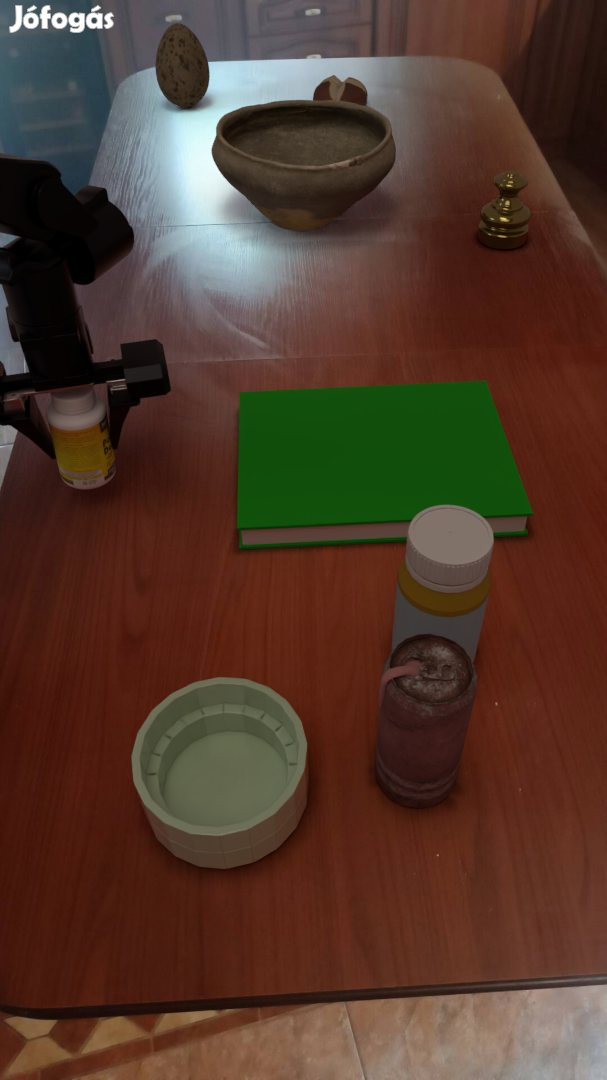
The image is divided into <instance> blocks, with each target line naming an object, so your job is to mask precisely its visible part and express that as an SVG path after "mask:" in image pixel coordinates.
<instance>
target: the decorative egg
mask: <svg viewBox="0 0 607 1080" xmlns="http://www.w3.org/2000/svg"><path fill="white" fill-rule="evenodd" d="M210 75H211V73H210V65H209V61H208V57H207V54H206V52H205V49H204V47H203V45H202V43H201V42H200V40H199V38H198V37H197V36H196V34H195V33H194V32H193V30H192V29H190V27H188V26H186V25H185V24H183V23H179V22H176V23H172V24H171V25H169V26H168V27H167V28H166V29H165V30H164V33H163V34H162V36H161V38H160V40H159V42H158V46H157V50H156V55H155V76H156V82H157V85H158V88H159V90H160V92H161V93H162V95H163V96H164V97H165V99H166V100H167V101H168V102H169V103H171V104H172V105H174V106H176V107H179V108H181V109H182V108H183V109H188V108H193V107H195V106H197V105H198V104H199V103H201V101H202V100H203V98H204V97H205V95H206V94H207V91H208V88H209V86H210V77H211V76H210Z"/></svg>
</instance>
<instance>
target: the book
mask: <svg viewBox="0 0 607 1080" xmlns="http://www.w3.org/2000/svg"><path fill="white" fill-rule="evenodd" d="M238 395H239V400H238V401H239V404H238V405H239V406H238V450H237V451H238V453H237V454H238V455H237V459H238V461H237V513H236V515H237V516H236V522H237V523H236V524H237V525H236V530H237V531H239V544H238V545H239V550H240V551H244V550H245V551H247V550H263V549H264V550H265V549H266V550H267V549H283V548H284V549H285V548H304V547H323V546H327V547H328V546H342V545H343V546H344V545H345V546H347V545H364V544H365V545H366V544H385V543H388V544H389V543H405V542H406V543H407V534H408V528H409V525H410V523H411V521H412V520H413V518H414V517H415V516H416V515H417V514H418V513H420V512H421V511H423V510H425V509H427V508H430V507H433V506H438V505H456V506H461V507H464V508H467V509H470V510H472V511H474V512H476V513H478V514H479V515H481V516H482V517H483V518H484V519H485V520H486V521H487V522H488V524H489V525H490V527H491V529H492V531H493V537H494V538H507V537H527V536H528V535H529V531H528V529H527V525H526V524H527V520H528V517H533V516H534V511H533V509H532V506H531V503H530V500H529V497H528V495H527V492H526V489H525V486H524V483H523V480H522V478H521V475H520V473H519V470H518V466H517V464H516V461H515V458H514V455H513V453H512V450H511V447H510V444H509V441H508V439H507V436H506V432H505V430H504V428H503V427H504V426H503V424H502V421H501V418H500V416H499V413H498V410H497V408H496V405H495V402H494V399H493V396H492V393H491V390H490V387H489V385H488V382H487V380H486V379H485V380H468V381H446V382H443V381H442V382H425V383H424V382H423V383H402V384H401V383H400V384H381V385H380V384H379V385H361V386H358V385H357V386H340V387H339V386H338V387H317V388H314V387H313V388H297V389H274V390H271V389H270V390H252V391H251V390H250V391H239V394H238Z"/></svg>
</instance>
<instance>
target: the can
mask: <svg viewBox="0 0 607 1080" xmlns="http://www.w3.org/2000/svg"><path fill="white" fill-rule="evenodd" d="M478 681H479V677H478V673H477V669H476V665H475V664H474V662H473V663H472V659H471V658H470V656H469V655H468V653H467V652H466V650H465V649H464V648H463V647H462V646H460V645H459V644H458V643H457V642H455V641H454V640H451V639H449V638H447V637H445V636H441V635H436V634H431V633H430V634H417V635H414V636H411V637H408V638H406V639H404V640H403V641H402V642H400V643H399V644H398V645H397V646H396V647H395V648H394V649H393V650H392V649H391V650H390V652H389V653H388V654H387V656H386V658H385V660H384V662H383V667H382V671H381V678H380V682H379V689H378V702H379V703H378V704H379V707H378V720H377V732H376V746H375V759H374V772H375V779H376V781H377V782H378V785H379V787H380V789H381V790H382V791H383V792H384V793H385V794H386V795H387V797H389V798H390V799H391V800H393V801H395V802H396V803H398V804H400V805H401V806H404V807H410V808H414V809H419V808H420V809H421V808H431V807H432V806H435V805H437V804H440V803H441V802H442V801H444V800H445V799H446V798H447V797H448V796H449V795H450V794H451V793H452V790H453V789H454V786H455V785H456V781H457V776H458V772H459V769H460V768H459V767H460V763H461V759H462V754H463V750H464V746H465V742H466V737H467V734H468V729H469V725H470V721H471V716H472V712H473V708H474V704H475V699H476V695H477V691H478Z"/></svg>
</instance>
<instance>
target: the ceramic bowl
mask: <svg viewBox="0 0 607 1080" xmlns="http://www.w3.org/2000/svg"><path fill="white" fill-rule="evenodd" d="M132 748H133V749H132V752H131V755H130V756H131V757H130V760H131V771H132V781H133V785H134V788H135V790H136V791H135V792H136V793H137V796H138V799H139V801H140V804H141V807H142V809H143V812H144V815H145V818H146V820H147V821H148V824H149V826H150V828H151V830H152V832H153V834H154V836H155V838H156V840H157V841H158V842H159V843H161V845H163V846H164V847H165V849H167V850H168V851H169V852H170V853H171V854H172V855H173V856H174V857H175V858H178V859H180V860H183V861H185V862H187V863H189V864H192V865H194V866H196V867H200V868H208V869H209V868H210V869H222V870H227V869H231V868H232V869H233V868H235V867H236V868H237V867H240V866H244V865H249V864H253V863H255V862H258V861H259V860H260V859H262V858H264V857H266V856H267V855H270V854H271V853H272V852H274V851H276V850H277V849H278V848H280V847H281V845H283V844H284V843H285V841H286V840H287V839H288V838H289V836H291V834H292V833H293V832H294V831H295V830H296V829H297V827H298V825H299V823H300V820H301V818H302V816H303V813H304V811H305V809H306V807H307V804H308V796H309V795H308V793H309V782H310V777H309V776H310V775H309V774H310V773H309V754H308V753H309V751H308V741H307V737H306V734H305V729H304V725H303V721H302V720H301V718H300V716H299V715H298V714H297V712H296V711H295V710H294V708H293V707H292V705H291V704H290V702H289V701H288V700H287V699H286V698H284V697H283V696H282V695H280V694H279V693H278V692H276V691H275V690H274V689H272V688H271V687H269V686H267V685H265V684H262V683H259V682H256V681H253V680H251V679H248V678H241V677H224V676H217V677H213V678H208V679H203V680H198V681H194V682H191V683H190V684H187V685H186V686H184V687H182V688H179V689H178V690H176V691H173V692H172V693H170V694H169V695H167V697H165V698H164V699H163V700H162V701H161V702H160V703H158V704H157V705H156V706H155V707H154V708H153V709H152V710H151V711H150V712H149V714H148V716H147V717H146V719H145V720H144V722H143V723H142V725H141V727H140V728H139V730H138V731H137V733H136V736H135V741H134V744H133V747H132Z"/></svg>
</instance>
